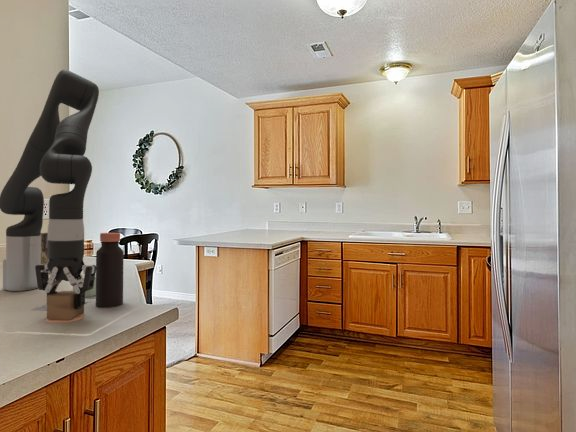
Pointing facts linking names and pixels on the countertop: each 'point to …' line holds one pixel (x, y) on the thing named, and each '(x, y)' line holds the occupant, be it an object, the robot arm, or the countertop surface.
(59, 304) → the walnut block
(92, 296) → the code tile
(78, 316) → the terracotta coaster
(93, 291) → the sage block
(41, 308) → the tile
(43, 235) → the coffee box
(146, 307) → the countertop surface
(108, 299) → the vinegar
